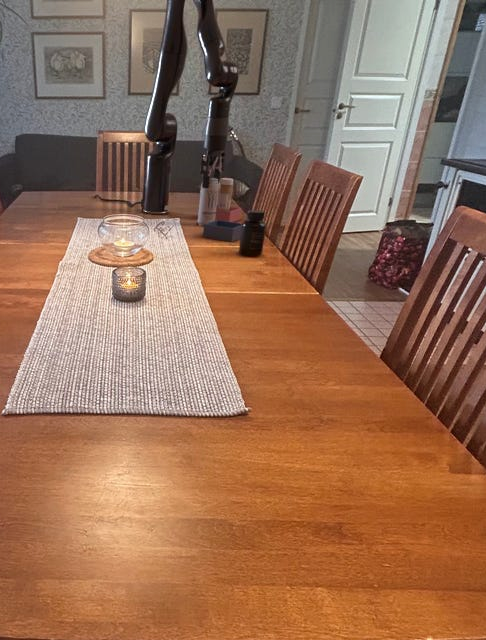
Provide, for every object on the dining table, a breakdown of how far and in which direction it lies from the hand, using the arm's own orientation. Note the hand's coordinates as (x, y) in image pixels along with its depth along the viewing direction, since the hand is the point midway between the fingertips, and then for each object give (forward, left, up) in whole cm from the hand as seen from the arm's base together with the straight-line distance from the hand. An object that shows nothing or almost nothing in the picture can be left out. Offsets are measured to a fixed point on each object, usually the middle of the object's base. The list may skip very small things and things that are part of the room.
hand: (210, 186), depth 204 cm
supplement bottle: (+29, -31, -13) cm, 44 cm away
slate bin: (+13, -14, -13) cm, 23 cm away
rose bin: (0, +14, -13) cm, 19 cm away
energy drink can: (0, 0, -13) cm, 13 cm away
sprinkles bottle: (0, +14, -12) cm, 19 cm away
